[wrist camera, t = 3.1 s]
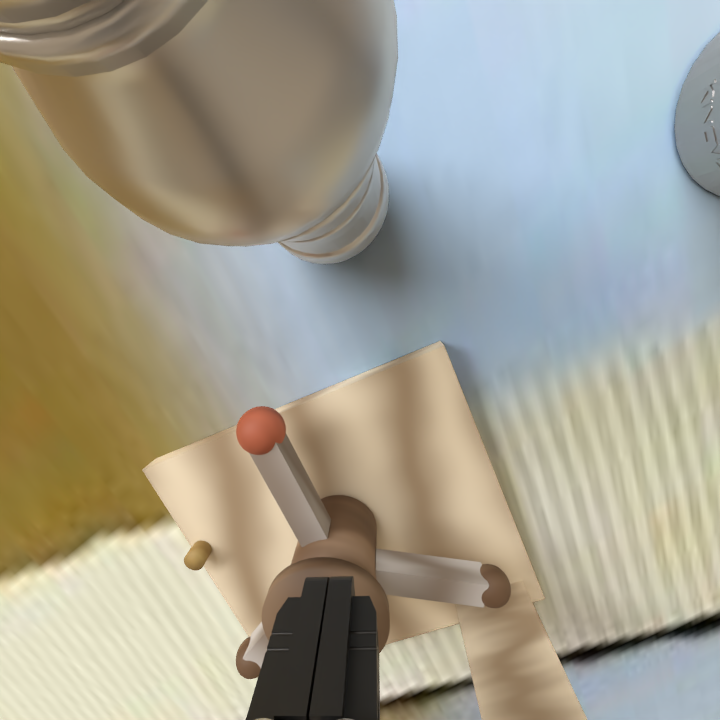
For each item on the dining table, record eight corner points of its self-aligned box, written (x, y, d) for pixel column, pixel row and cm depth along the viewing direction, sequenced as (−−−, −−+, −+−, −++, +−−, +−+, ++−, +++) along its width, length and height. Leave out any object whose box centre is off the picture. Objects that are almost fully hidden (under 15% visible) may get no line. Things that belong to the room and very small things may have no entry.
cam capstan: (404, 332, 20) (416, 360, 14) (497, 552, 24) (542, 660, 17) (148, 441, 23) (55, 508, 16) (262, 625, 26) (223, 743, 20)
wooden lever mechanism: (440, 340, 22) (483, 387, 13) (536, 582, 26) (622, 750, 17) (155, 458, 25) (27, 563, 16) (280, 658, 29) (234, 833, 20)
